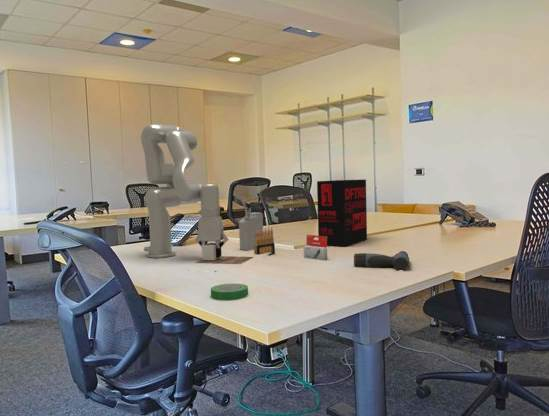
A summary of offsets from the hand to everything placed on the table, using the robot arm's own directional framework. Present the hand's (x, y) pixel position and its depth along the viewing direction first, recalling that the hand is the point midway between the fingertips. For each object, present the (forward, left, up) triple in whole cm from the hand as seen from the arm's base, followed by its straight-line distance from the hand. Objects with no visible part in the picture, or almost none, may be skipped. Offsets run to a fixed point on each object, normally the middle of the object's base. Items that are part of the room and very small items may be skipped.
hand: (212, 256), depth 189 cm
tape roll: (+28, -48, -3) cm, 56 cm away
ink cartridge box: (+41, +14, -3) cm, 43 cm away
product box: (+46, +60, -3) cm, 75 cm away
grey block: (0, 0, -1) cm, 1 cm away
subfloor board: (+6, 0, -2) cm, 6 cm away
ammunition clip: (+17, +19, -3) cm, 25 cm away
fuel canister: (+4, +36, -3) cm, 36 cm away
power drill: (+69, +4, -3) cm, 69 cm away
